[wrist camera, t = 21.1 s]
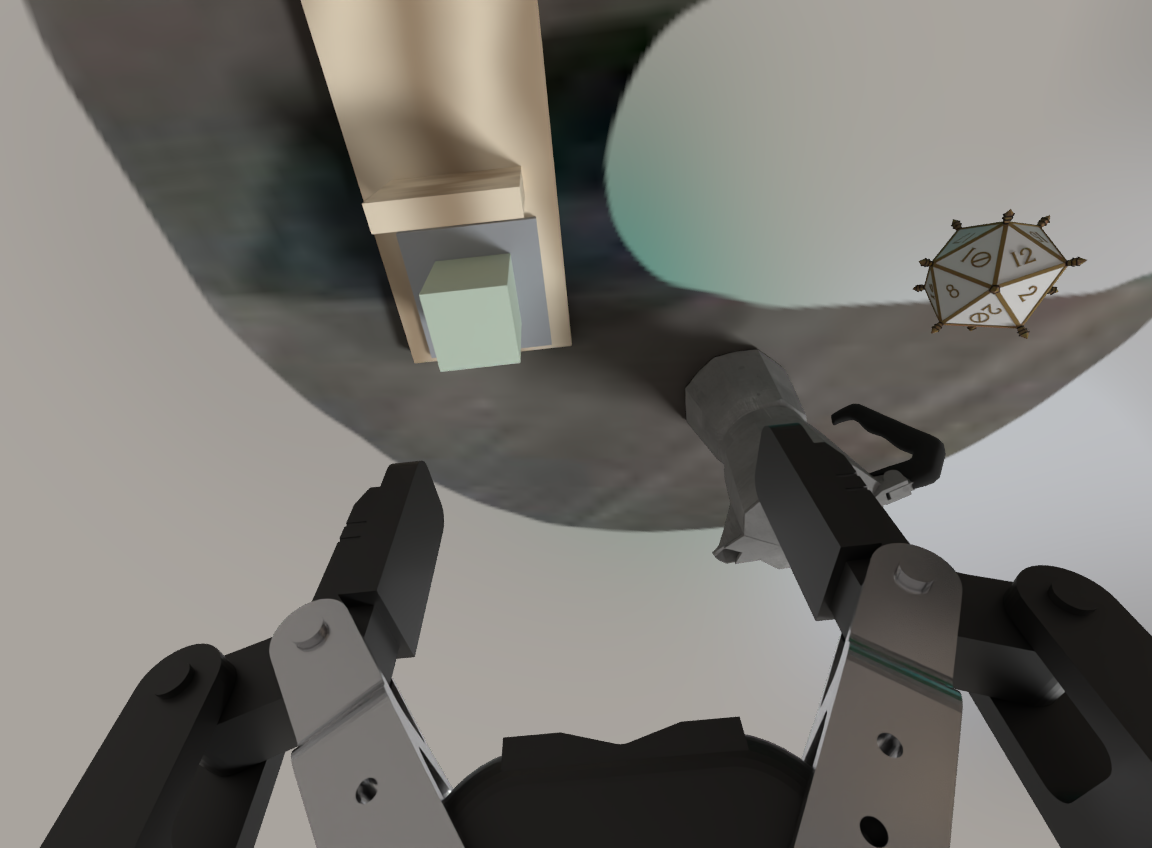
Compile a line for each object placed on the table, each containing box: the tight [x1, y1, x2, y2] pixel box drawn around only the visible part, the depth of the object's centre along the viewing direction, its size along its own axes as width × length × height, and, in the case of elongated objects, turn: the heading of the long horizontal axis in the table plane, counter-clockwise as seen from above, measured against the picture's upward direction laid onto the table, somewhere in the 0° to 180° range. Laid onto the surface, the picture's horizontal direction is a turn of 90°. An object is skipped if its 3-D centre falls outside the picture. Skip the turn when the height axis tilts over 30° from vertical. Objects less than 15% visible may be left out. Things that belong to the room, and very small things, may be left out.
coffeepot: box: [685, 349, 945, 569], centre depth 36 cm, size 15×9×18 cm, turn 122°
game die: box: [913, 209, 1086, 339], centre depth 34 cm, size 9×8×10 cm
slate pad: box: [396, 217, 552, 358], centre depth 35 cm, size 9×9×1 cm
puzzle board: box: [301, 0, 572, 363], centre depth 24 cm, size 12×40×8 cm, turn 5°
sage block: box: [419, 253, 522, 372], centre depth 32 cm, size 5×5×6 cm
